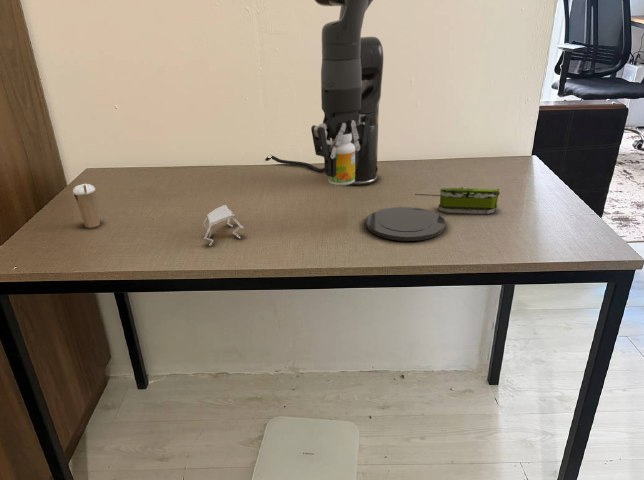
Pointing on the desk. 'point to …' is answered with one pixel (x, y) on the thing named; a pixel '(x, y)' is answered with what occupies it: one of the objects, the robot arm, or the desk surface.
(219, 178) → the desk surface
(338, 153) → the supplement bottle
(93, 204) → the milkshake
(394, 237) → the plate
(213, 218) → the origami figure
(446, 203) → the toy tank
